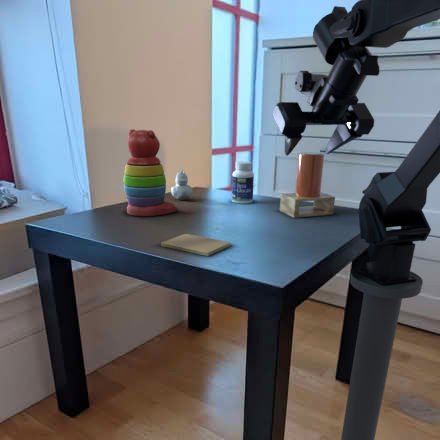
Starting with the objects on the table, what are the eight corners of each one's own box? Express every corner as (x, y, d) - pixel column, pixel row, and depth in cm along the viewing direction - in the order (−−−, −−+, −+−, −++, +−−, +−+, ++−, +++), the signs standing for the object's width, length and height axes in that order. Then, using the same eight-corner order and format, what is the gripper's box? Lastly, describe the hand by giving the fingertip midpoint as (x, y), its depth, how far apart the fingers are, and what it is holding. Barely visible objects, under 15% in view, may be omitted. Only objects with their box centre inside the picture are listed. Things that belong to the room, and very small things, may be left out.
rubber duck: (175, 202, 106) (173, 169, 103) (168, 197, 112) (167, 166, 109) (195, 200, 108) (194, 168, 105) (188, 196, 114) (187, 165, 111)
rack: (333, 214, 95) (335, 196, 93) (293, 217, 92) (295, 199, 90) (317, 208, 101) (318, 191, 99) (279, 211, 98) (280, 193, 96)
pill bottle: (235, 204, 104) (236, 163, 100) (229, 200, 109) (229, 161, 105) (255, 203, 106) (257, 163, 102) (248, 199, 110) (250, 160, 106)
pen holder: (324, 196, 93) (329, 154, 89) (302, 198, 91) (306, 155, 88) (312, 192, 98) (315, 151, 94) (290, 193, 96) (293, 152, 93)
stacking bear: (180, 210, 98) (177, 129, 91) (151, 219, 90) (145, 131, 83) (145, 205, 103) (139, 127, 96) (115, 213, 95) (106, 129, 88)
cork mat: (230, 245, 73) (230, 242, 73) (207, 256, 68) (207, 252, 67) (185, 236, 78) (185, 233, 78) (160, 245, 73) (160, 242, 72)
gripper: (369, 55, 76) (331, 124, 90) (278, 50, 71) (252, 125, 84) (396, 96, 72) (351, 163, 85) (300, 94, 66) (269, 166, 79)
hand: (306, 153), depth 83 cm, fingers open, 9 cm apart
